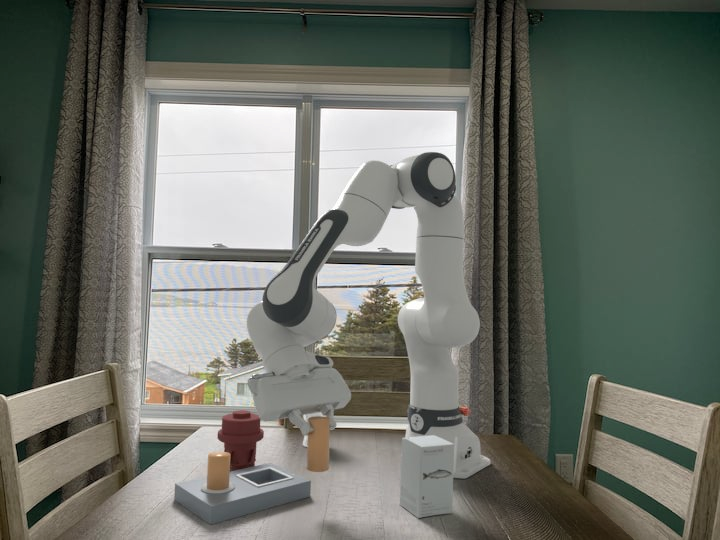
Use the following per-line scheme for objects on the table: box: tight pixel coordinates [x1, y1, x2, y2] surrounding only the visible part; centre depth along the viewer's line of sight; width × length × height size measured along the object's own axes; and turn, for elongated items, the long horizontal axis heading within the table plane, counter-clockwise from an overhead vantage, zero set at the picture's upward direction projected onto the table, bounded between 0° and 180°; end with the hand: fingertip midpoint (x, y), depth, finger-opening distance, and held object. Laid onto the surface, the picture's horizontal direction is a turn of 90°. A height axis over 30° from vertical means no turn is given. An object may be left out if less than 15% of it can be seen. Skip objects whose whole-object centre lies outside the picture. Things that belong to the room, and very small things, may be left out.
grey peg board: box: [173, 451, 312, 525], centre depth 104 cm, size 21×14×9 cm, turn 133°
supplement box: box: [399, 435, 454, 519], centre depth 102 cm, size 7×7×13 cm
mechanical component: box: [217, 409, 265, 471], centre depth 122 cm, size 12×10×10 cm
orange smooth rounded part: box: [306, 416, 331, 473], centre depth 101 cm, size 4×4×9 cm
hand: (320, 431), depth 100 cm, fingers closed on orange smooth rounded part, 4 cm apart
